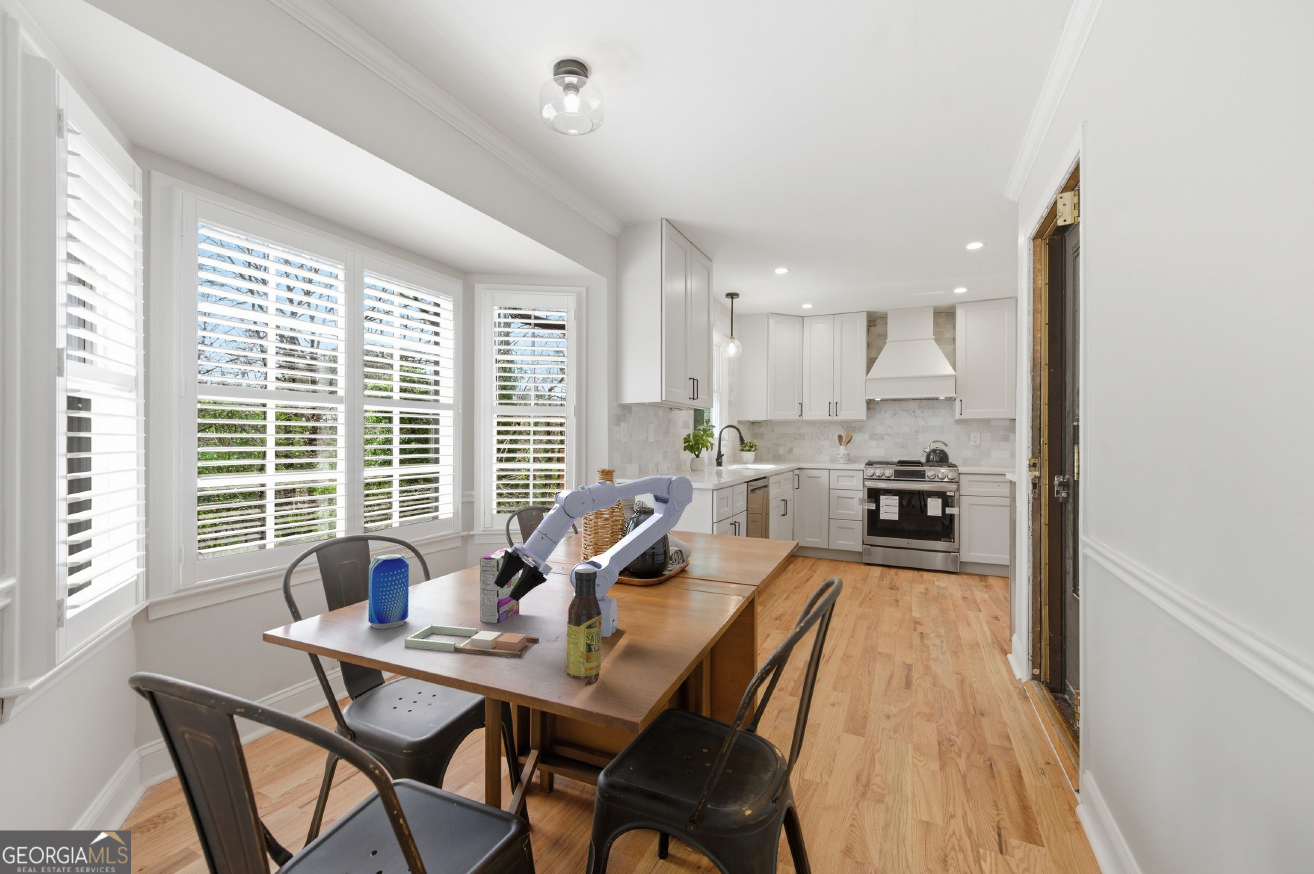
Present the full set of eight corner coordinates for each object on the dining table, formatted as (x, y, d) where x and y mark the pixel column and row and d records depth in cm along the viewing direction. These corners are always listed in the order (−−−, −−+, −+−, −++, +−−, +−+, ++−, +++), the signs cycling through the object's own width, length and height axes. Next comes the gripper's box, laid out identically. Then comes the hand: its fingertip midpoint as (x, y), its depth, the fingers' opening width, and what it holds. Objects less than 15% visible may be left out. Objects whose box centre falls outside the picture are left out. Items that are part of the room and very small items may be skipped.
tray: (477, 642, 121) (477, 628, 121) (453, 658, 112) (454, 643, 112) (430, 638, 123) (431, 624, 123) (404, 653, 114) (404, 638, 114)
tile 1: (501, 642, 117) (501, 632, 117) (490, 650, 113) (490, 640, 113) (481, 640, 118) (481, 630, 118) (470, 648, 114) (470, 638, 114)
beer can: (373, 632, 126) (374, 560, 126) (364, 622, 133) (365, 554, 133) (412, 625, 132) (413, 556, 132) (402, 615, 138) (403, 550, 138)
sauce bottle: (590, 689, 99) (591, 576, 99) (559, 683, 102) (560, 572, 102) (607, 675, 105) (608, 568, 105) (577, 669, 108) (578, 565, 108)
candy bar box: (501, 613, 141) (501, 547, 141) (519, 614, 140) (520, 548, 140) (478, 628, 130) (479, 556, 130) (498, 629, 129) (499, 557, 129)
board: (538, 648, 118) (538, 637, 118) (519, 665, 109) (519, 653, 109) (477, 642, 121) (477, 631, 121) (453, 658, 112) (453, 647, 112)
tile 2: (526, 644, 116) (526, 634, 116) (516, 652, 112) (516, 642, 112) (506, 642, 117) (506, 632, 117) (495, 650, 113) (495, 640, 113)
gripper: (518, 518, 124) (477, 571, 120) (549, 537, 113) (505, 595, 108) (540, 535, 128) (501, 586, 124) (572, 555, 117) (531, 612, 112)
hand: (505, 592), depth 116 cm, fingers open, 7 cm apart
